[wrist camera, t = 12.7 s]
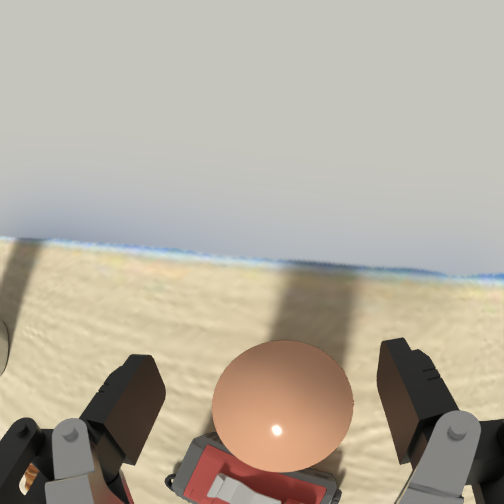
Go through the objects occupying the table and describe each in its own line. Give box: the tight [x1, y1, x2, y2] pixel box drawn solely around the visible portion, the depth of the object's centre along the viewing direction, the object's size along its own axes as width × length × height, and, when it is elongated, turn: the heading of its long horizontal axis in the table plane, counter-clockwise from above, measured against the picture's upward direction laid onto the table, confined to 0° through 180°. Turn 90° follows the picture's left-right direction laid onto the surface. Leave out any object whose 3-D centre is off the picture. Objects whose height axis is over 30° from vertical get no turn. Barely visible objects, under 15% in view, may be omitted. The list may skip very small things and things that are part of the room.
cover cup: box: [212, 340, 354, 472], centre depth 16 cm, size 7×7×10 cm
